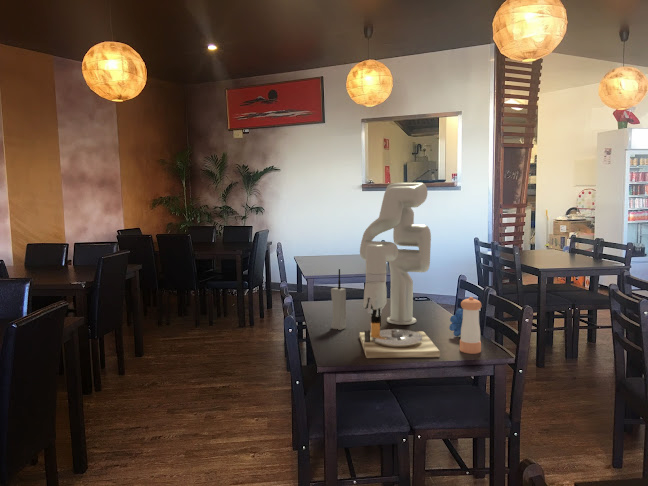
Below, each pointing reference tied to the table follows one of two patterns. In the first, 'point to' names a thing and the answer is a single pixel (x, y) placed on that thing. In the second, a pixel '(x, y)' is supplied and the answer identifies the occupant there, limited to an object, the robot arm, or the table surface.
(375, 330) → the flange
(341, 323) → the vintage mobile phone
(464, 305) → the pepper shaker
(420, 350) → the base board
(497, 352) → the table surface
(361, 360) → the table surface
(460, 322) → the grapes
